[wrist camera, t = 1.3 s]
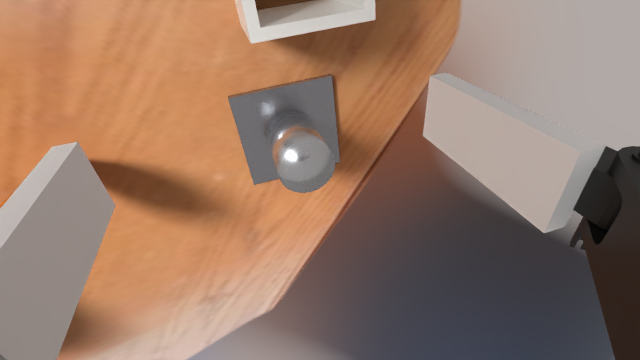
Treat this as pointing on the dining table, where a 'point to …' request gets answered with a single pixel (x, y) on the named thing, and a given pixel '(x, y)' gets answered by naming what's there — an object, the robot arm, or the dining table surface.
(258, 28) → the white square planter
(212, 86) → the dining table surface
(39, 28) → the dining table surface
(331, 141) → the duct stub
